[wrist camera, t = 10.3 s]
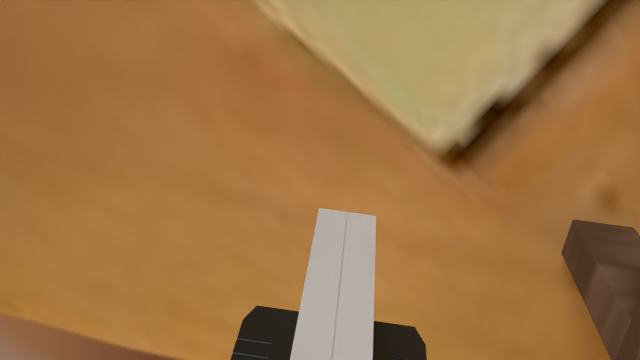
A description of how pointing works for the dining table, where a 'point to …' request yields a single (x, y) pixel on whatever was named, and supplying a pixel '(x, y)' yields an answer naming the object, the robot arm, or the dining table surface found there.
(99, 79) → the dining table surface
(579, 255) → the bridge
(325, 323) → the robot arm
